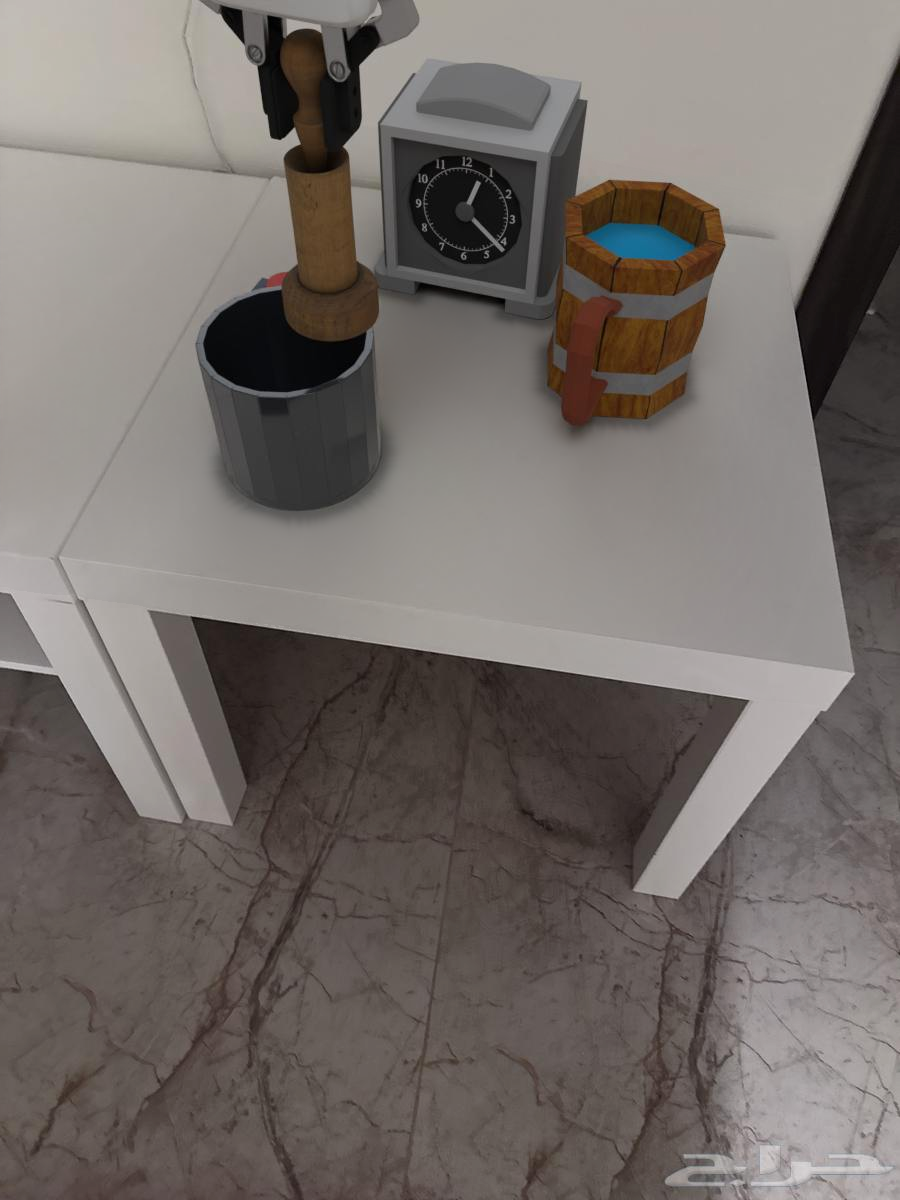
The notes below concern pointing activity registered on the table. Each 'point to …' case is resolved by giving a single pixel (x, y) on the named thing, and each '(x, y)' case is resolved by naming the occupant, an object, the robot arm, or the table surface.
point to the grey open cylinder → (289, 404)
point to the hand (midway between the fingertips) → (314, 132)
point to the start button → (276, 279)
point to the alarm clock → (479, 182)
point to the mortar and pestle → (321, 213)
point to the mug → (630, 297)
